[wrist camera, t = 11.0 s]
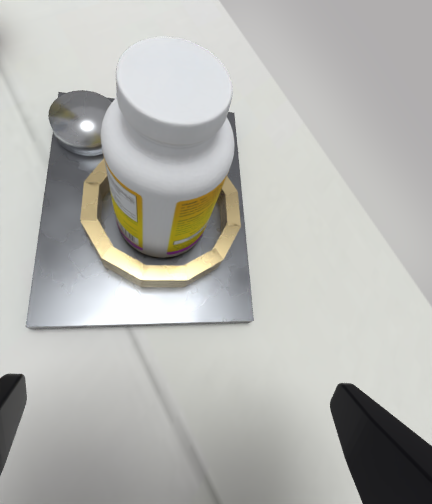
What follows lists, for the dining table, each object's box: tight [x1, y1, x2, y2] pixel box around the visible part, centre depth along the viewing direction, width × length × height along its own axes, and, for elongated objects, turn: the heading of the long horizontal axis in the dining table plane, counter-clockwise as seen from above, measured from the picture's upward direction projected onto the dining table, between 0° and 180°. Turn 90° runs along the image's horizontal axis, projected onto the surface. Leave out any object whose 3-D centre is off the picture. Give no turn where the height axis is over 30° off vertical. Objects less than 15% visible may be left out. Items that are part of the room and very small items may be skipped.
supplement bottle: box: [101, 37, 235, 258], centre depth 19 cm, size 7×7×13 cm
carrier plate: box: [26, 90, 254, 329], centre depth 24 cm, size 19×15×3 cm
